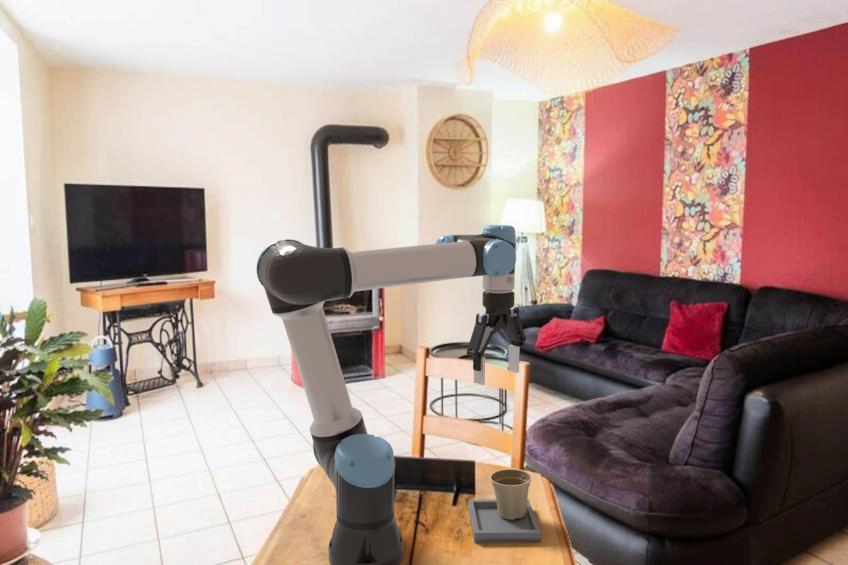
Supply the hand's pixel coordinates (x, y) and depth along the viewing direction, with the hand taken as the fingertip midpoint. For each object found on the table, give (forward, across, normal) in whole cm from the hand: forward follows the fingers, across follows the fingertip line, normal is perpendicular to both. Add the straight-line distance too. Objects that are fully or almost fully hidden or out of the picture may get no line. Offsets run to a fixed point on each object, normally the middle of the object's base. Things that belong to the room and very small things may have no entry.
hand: (496, 377), depth 147 cm
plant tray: (+29, -12, -11) cm, 33 cm away
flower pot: (+28, -8, -11) cm, 31 cm away
